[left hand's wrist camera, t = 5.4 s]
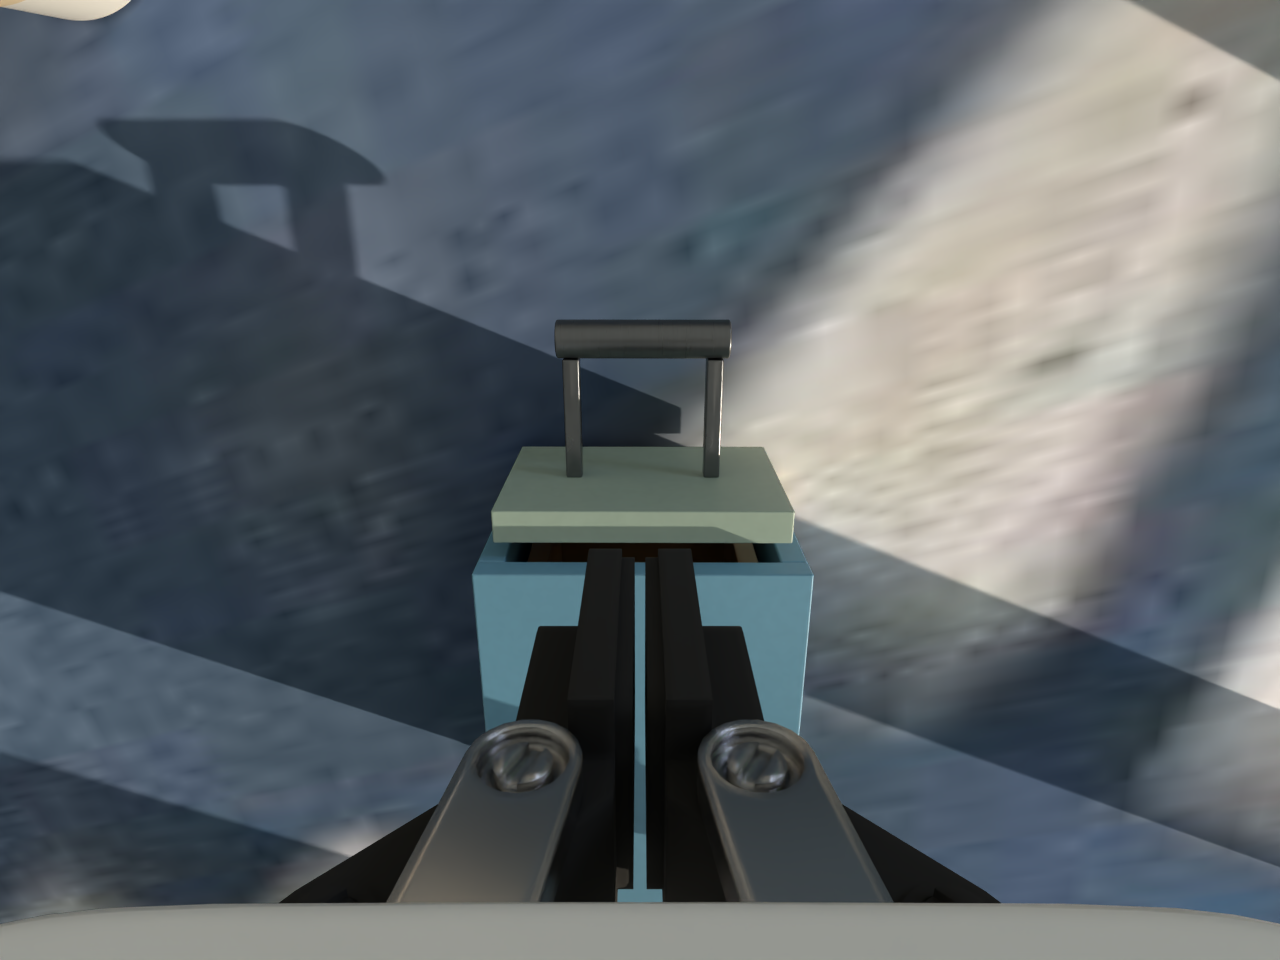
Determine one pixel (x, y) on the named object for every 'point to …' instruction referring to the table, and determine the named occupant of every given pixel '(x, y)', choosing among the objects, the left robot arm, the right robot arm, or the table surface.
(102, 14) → the coffee cup
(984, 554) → the table surface
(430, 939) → the left robot arm
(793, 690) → the cabinet
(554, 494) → the drawer
